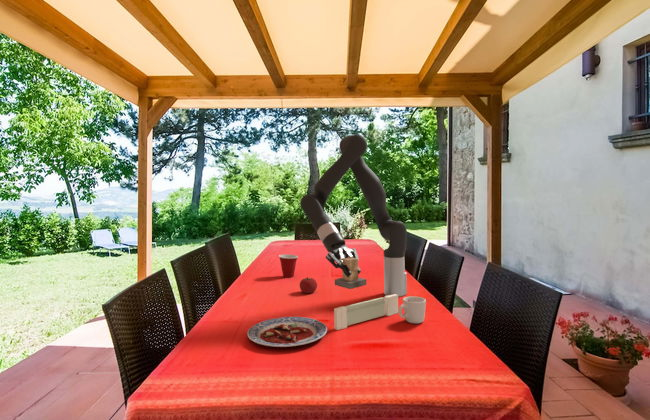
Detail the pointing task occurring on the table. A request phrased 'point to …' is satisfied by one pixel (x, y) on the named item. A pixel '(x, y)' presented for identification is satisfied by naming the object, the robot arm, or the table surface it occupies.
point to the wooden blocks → (341, 312)
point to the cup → (413, 309)
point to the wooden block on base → (353, 279)
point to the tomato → (308, 285)
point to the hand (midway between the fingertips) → (354, 274)
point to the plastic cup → (288, 264)
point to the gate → (365, 310)
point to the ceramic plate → (287, 331)
